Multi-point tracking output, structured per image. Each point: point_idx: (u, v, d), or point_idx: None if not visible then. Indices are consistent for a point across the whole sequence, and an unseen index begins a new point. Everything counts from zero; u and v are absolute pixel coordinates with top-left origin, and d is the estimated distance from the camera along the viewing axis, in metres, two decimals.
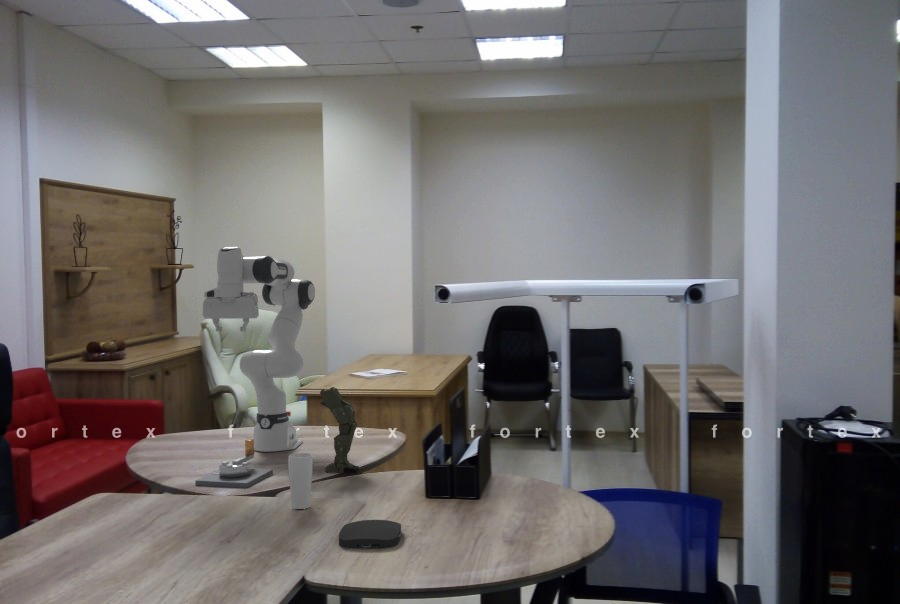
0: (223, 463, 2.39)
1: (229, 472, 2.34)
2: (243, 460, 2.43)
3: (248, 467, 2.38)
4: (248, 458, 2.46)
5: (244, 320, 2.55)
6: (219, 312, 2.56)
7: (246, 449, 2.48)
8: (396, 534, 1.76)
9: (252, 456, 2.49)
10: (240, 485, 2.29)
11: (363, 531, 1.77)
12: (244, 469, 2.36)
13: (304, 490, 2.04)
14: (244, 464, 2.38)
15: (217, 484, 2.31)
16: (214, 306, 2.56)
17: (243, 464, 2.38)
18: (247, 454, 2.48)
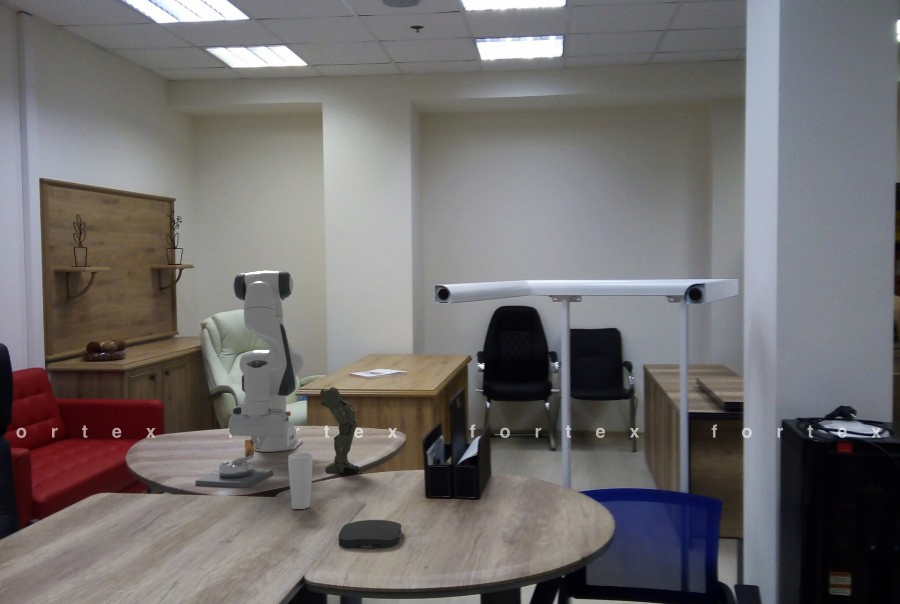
0: (223, 463, 2.39)
1: (229, 472, 2.34)
2: (243, 460, 2.43)
3: (248, 467, 2.38)
4: (248, 458, 2.46)
5: (260, 438, 2.47)
6: (246, 429, 2.47)
7: (246, 449, 2.48)
8: (396, 534, 1.76)
9: (252, 456, 2.49)
10: (240, 485, 2.29)
11: (363, 531, 1.77)
12: (244, 469, 2.36)
13: (304, 490, 2.04)
14: (244, 464, 2.38)
15: (217, 484, 2.31)
16: (241, 423, 2.48)
17: (243, 464, 2.38)
18: (247, 454, 2.48)
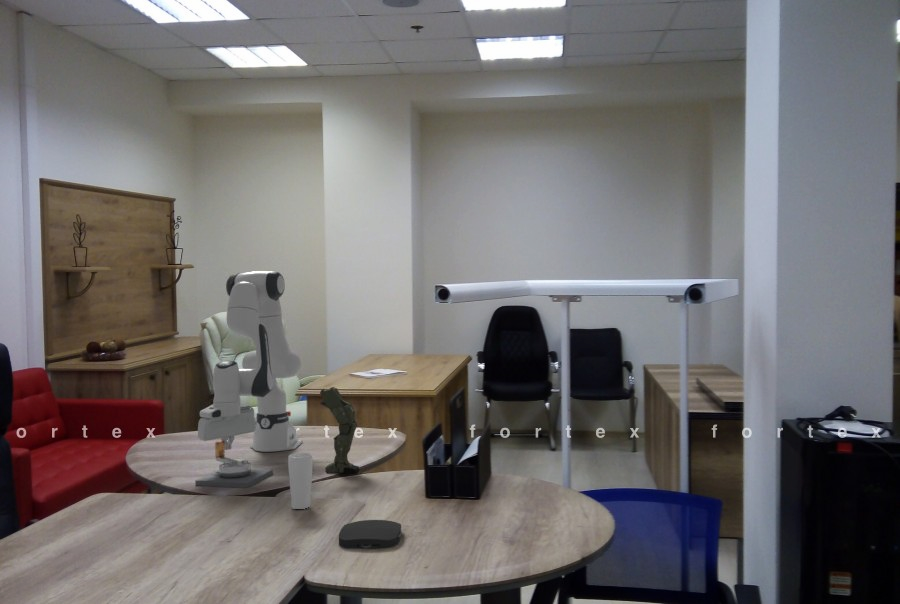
0: (225, 465, 2.36)
1: (244, 470, 2.36)
2: None
3: None
4: None
5: (232, 437, 2.49)
6: (221, 431, 2.44)
7: (220, 451, 2.45)
8: (396, 534, 1.76)
9: None
10: (240, 485, 2.29)
11: (363, 531, 1.77)
12: None
13: (304, 490, 2.04)
14: (246, 461, 2.41)
15: (217, 484, 2.31)
16: (215, 426, 2.43)
17: (245, 462, 2.41)
18: (221, 456, 2.45)
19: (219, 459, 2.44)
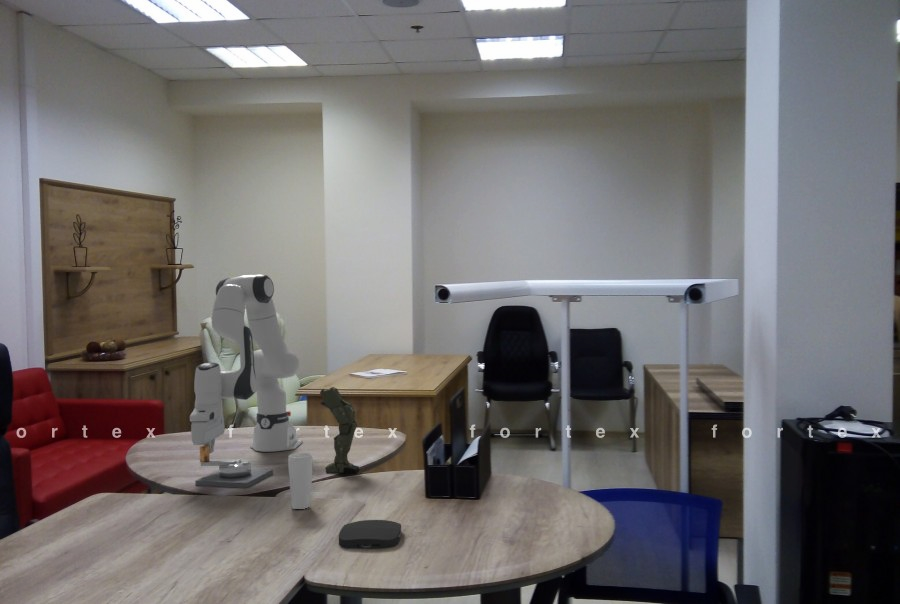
0: (233, 466, 2.35)
1: (250, 467, 2.40)
2: None
3: None
4: None
5: (214, 440, 2.45)
6: (210, 434, 2.40)
7: (208, 455, 2.39)
8: (396, 534, 1.76)
9: None
10: (240, 485, 2.29)
11: (363, 531, 1.77)
12: None
13: (304, 490, 2.04)
14: (240, 460, 2.43)
15: (217, 484, 2.31)
16: (207, 429, 2.38)
17: (240, 461, 2.43)
18: (209, 460, 2.39)
19: (208, 463, 2.38)
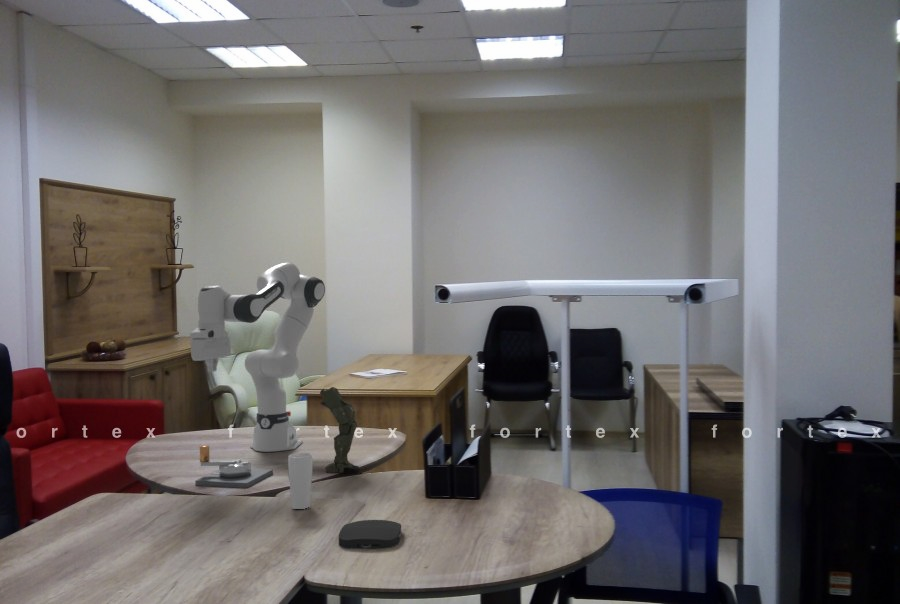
0: (233, 466, 2.35)
1: (250, 467, 2.40)
2: None
3: None
4: None
5: (217, 359, 2.55)
6: (211, 352, 2.50)
7: (208, 455, 2.39)
8: (396, 534, 1.76)
9: None
10: (240, 485, 2.29)
11: (363, 531, 1.77)
12: None
13: (304, 490, 2.04)
14: (240, 460, 2.43)
15: (217, 484, 2.31)
16: (207, 347, 2.48)
17: (240, 461, 2.43)
18: (209, 460, 2.39)
19: (208, 463, 2.38)
